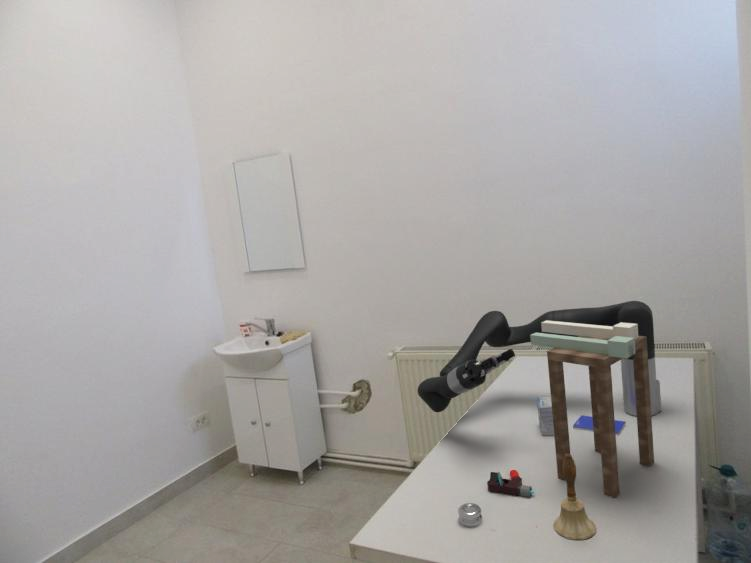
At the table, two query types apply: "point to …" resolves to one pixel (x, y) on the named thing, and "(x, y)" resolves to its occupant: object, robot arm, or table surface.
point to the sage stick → (587, 344)
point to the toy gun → (508, 485)
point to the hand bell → (573, 509)
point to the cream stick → (591, 329)
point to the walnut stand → (601, 407)
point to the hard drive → (587, 424)
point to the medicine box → (545, 415)
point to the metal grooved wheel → (470, 515)
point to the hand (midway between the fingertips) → (503, 356)
